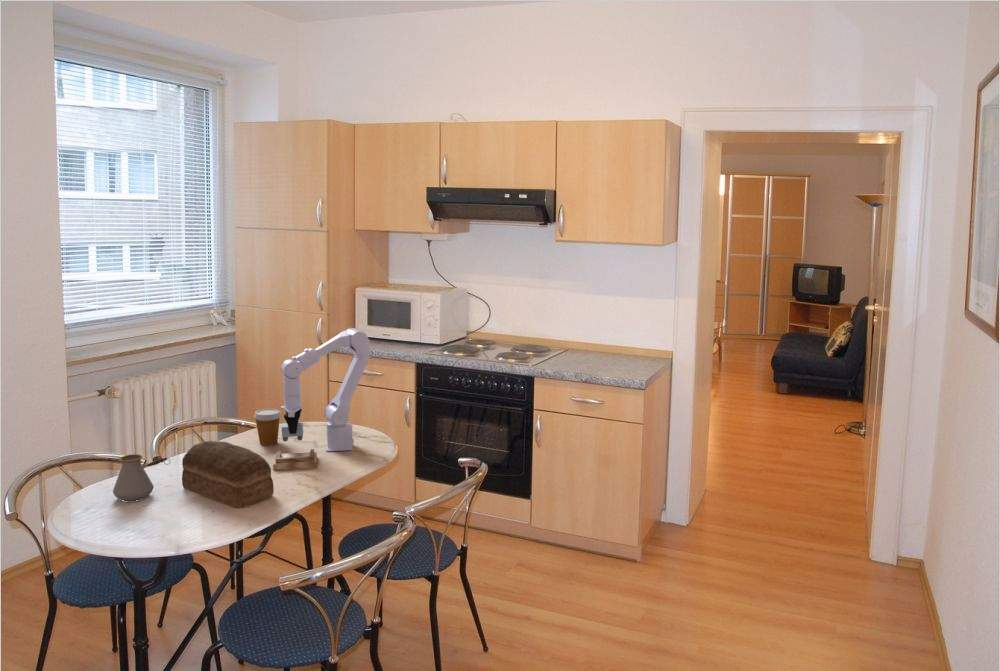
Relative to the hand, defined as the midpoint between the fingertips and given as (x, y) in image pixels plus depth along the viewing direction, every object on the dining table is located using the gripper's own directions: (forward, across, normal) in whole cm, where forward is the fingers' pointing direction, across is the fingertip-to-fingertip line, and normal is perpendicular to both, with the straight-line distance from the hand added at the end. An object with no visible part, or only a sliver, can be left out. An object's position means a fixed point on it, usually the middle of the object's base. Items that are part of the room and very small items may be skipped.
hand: (293, 431), depth 302 cm
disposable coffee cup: (+9, -15, -10) cm, 20 cm away
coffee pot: (+9, +38, -42) cm, 57 cm away
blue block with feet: (+3, 0, 0) cm, 3 cm away
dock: (+8, +10, +1) cm, 13 cm away
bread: (+9, +35, -18) cm, 40 cm away
